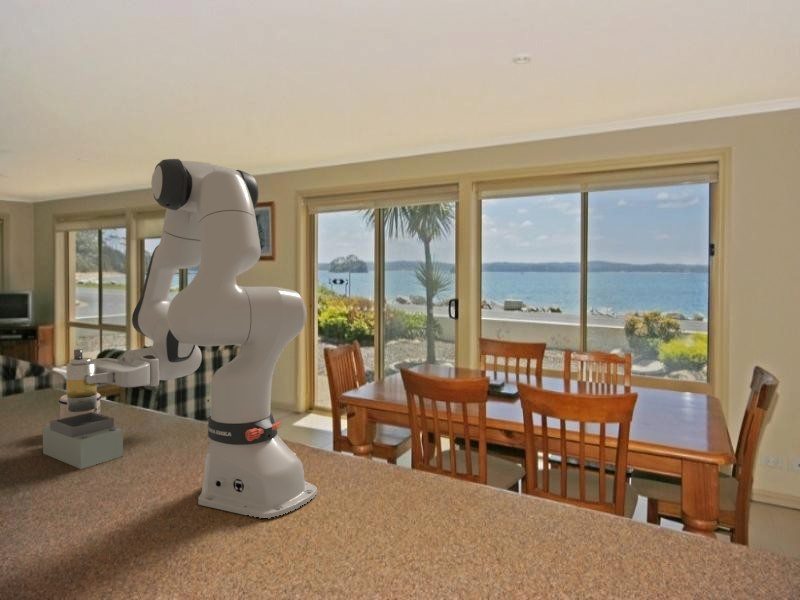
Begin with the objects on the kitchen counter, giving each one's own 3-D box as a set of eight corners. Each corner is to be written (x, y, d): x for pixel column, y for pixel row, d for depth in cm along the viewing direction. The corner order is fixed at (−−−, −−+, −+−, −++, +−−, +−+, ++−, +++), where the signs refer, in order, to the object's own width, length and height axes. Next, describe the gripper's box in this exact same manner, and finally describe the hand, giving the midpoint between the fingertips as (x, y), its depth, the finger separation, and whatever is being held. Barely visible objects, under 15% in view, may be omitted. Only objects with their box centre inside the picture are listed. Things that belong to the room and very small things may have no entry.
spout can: (102, 407, 118) (101, 350, 117) (75, 413, 113) (74, 353, 112) (88, 403, 121) (87, 347, 120) (62, 409, 116) (60, 350, 115)
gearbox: (123, 456, 117) (122, 421, 117) (81, 469, 110) (80, 431, 109) (76, 439, 128) (75, 406, 127) (34, 449, 120) (33, 415, 120)
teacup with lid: (98, 435, 131) (97, 389, 130) (55, 439, 127) (54, 391, 127) (105, 421, 142) (105, 379, 141) (66, 424, 139) (65, 381, 138)
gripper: (112, 350, 133) (53, 357, 121) (162, 359, 122) (102, 369, 110) (113, 374, 133) (54, 385, 122) (162, 386, 122) (102, 398, 111)
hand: (77, 377), depth 116 cm, fingers closed on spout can, 6 cm apart
